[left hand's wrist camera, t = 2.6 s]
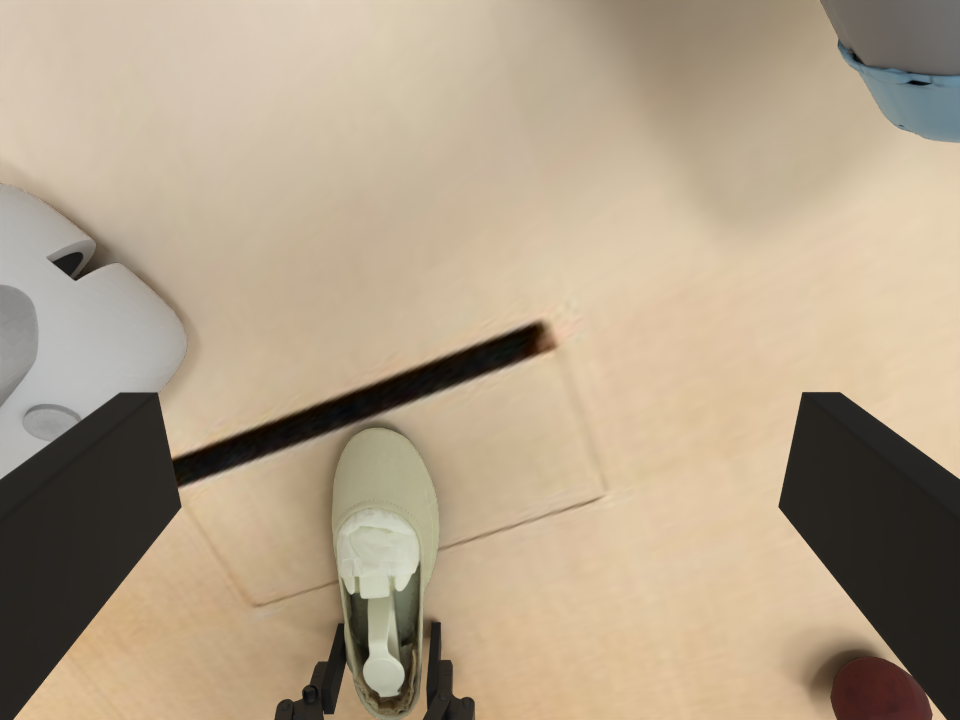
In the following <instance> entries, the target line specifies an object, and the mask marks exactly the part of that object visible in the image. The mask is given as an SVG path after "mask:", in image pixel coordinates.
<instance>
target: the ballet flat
mask: <svg viewBox="0 0 960 720" xmlns="http://www.w3.org/2000/svg"><path fill="white" fill-rule="evenodd" d="M331 519H332V533H333V547H334V554H335V559H336V565H337V571H338V579H339V586H340V593H341V600H342V606H343V613H344V621H345V625H344V636H345V643H346V644H345V652H346V660H347V664H348V667H349V669H350V671H351V672H352V674H353V680H354V684H355V688H356V691H357V693H358V696H359V698H360V700H361V702H362V704H363V705H364V707H365V708H366V709H367V711H368V712H369V713H370V714H371V715H373V716H374V717H375V718H378V719H381V720H399V719H402V718H404V717H406V716H407V715H408V714H410V713H411V711H412V710H413V709H414V707H415V705H416V703H417V701H418V699H419V694H420V681H421V668H422V638H423V595H424V592H425V589H426V586H427V584H428V582H429V580H430V578H431V575H432V572H433V568H434V564H435V561H436V557H437V551H438V545H439V537H440V521H439V510H438V504H437V498H436V492H435V489H434V486H433V483H432V480H431V477H430V475H429V472H428V470H427V468H426V465H425V463H424V461H423V459H422V457H421V456H420V454H419V453H418V451H417V450H416V449H415V447H414V446H413V444H412V443H411V442H410V441H409V440H408V439H407V438H406V437H404V436H403V435H401V434H399V433H397V432H395V431H392V430H389V429H385V428H369V429H365V430H363V431H361V432H359V433H357V434H356V435H354V436H353V437H352V438H351V439H350V441H349V442H348V443H347V445H346V446H345V448H344V450H343V452H342V454H341V457H340V460H339V463H338V466H337V469H336V473H335V478H334V483H333V504H332V515H331Z"/></svg>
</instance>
